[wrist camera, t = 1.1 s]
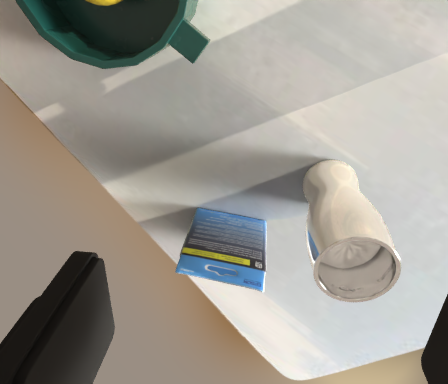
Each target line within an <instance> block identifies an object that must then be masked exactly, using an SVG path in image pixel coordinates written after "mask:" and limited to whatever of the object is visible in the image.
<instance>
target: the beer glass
mask: <svg viewBox="0 0 448 384" xmlns="http://www.w3.org/2000/svg"><path fill="white" fill-rule="evenodd" d="M302 188H303V193H304V195H305V197H306V199H307V201H308V202H309V208H308V214H307V220H306V244H307V250H308V255H309V259H310V262H311V266H312V269H313V273H314V279H315V281H316V283H317V285H318V287H319V288H320V289H321V290H322V291H323V292H324V293H325V294H327V295H328V296H330V297H332V298H334V299H337V300H340V301H345V302H363V301H368V300H372V299H375V298H377V297H379V296H381V295H383V294H385V293H386V292H387V291H389V290H390V289H391V288H392V287H393V286H394V284H395V283H396V282H397V280H398V278H399V275H400V271H401V263H400V259H399V257H398V255H397V252H396V249H395V246H394V243H393V240H392V237H391V235H390V233H389V230H388V228H387V226H386V224H385V222H384V220H383V218H382V217H381V215H380V213H379V212H378V211H377V209H376V208H375V207H374V206H373V204H372V203H371V202H370V201H369V200H368V199H367V198H366V197H365V196H364V195H363V194H362V193H361V192H360V190H359V187H358V178H357V175H356V173H355V171H354V170H353V168H352V167H351V166H349V165H348V164H346V163H345V162H342V161H339V160H325V161H322V162H319V163H317V164H315V165H314V166H312V167H311V168H310V169H309V170H308V171H307V173H306V174H305V176H304V179H303V183H302Z"/></svg>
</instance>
